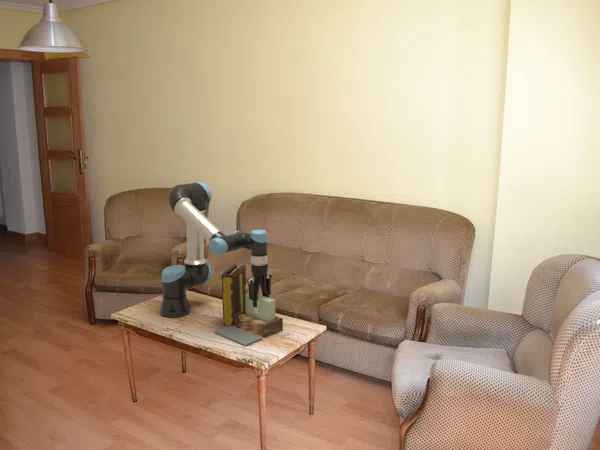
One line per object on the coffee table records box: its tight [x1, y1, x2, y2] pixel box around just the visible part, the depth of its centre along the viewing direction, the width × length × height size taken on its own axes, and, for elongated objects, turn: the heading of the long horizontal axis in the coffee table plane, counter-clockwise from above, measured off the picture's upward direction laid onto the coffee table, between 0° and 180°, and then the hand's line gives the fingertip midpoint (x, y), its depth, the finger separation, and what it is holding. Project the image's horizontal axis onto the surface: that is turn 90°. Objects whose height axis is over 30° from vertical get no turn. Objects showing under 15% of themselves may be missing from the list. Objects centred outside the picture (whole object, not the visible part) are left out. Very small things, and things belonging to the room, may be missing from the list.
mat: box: [213, 325, 263, 347], centre depth 240 cm, size 22×10×1 cm, turn 47°
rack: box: [234, 310, 284, 339], centre depth 249 cm, size 20×12×6 cm, turn 47°
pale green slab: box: [245, 292, 276, 323], centre depth 249 cm, size 16×4×15 cm, turn 47°
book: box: [221, 263, 249, 327], centre depth 260 cm, size 22×8×25 cm, turn 168°
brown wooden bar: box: [237, 314, 267, 337], centre depth 246 cm, size 17×4×5 cm, turn 47°
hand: (260, 311), depth 249 cm, fingers closed on pale green slab, 4 cm apart
